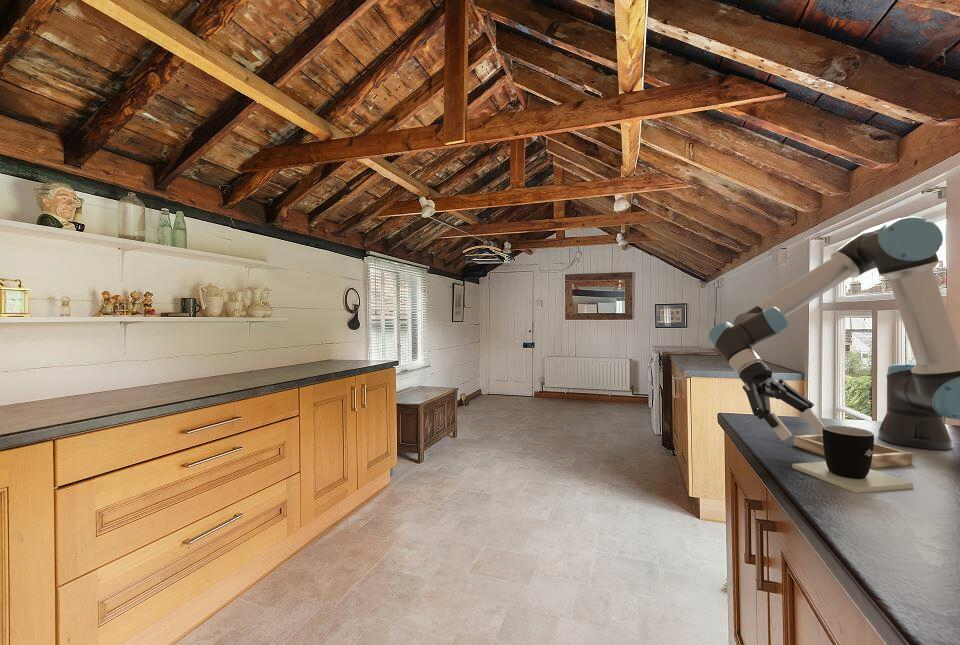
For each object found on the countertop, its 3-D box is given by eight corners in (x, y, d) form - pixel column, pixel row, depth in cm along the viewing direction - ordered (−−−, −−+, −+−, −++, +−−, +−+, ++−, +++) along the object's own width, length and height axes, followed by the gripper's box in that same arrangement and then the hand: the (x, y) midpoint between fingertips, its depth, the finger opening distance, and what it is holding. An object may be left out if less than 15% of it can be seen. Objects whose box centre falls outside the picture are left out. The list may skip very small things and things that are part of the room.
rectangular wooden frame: (839, 442, 125) (839, 433, 125) (912, 464, 107) (912, 453, 107) (793, 445, 123) (794, 436, 123) (861, 468, 105) (861, 457, 105)
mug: (871, 485, 92) (871, 438, 92) (818, 473, 98) (819, 430, 98) (876, 471, 100) (877, 427, 100) (827, 461, 107) (828, 421, 106)
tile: (843, 464, 108) (843, 460, 108) (913, 488, 93) (913, 483, 93) (792, 467, 105) (792, 463, 105) (855, 493, 90) (855, 488, 90)
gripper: (772, 374, 128) (826, 438, 115) (709, 379, 120) (760, 448, 106) (790, 358, 123) (849, 423, 109) (726, 362, 114) (782, 432, 101)
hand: (806, 435), depth 108 cm, fingers open, 13 cm apart
